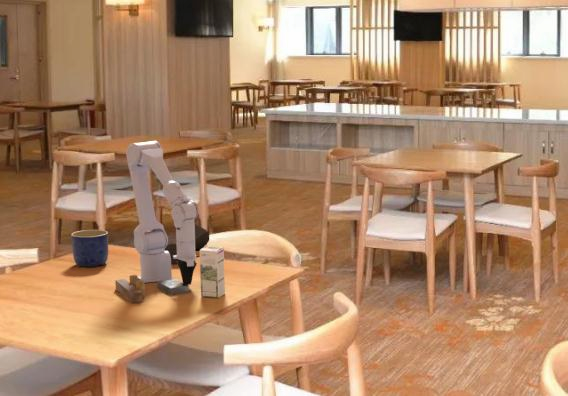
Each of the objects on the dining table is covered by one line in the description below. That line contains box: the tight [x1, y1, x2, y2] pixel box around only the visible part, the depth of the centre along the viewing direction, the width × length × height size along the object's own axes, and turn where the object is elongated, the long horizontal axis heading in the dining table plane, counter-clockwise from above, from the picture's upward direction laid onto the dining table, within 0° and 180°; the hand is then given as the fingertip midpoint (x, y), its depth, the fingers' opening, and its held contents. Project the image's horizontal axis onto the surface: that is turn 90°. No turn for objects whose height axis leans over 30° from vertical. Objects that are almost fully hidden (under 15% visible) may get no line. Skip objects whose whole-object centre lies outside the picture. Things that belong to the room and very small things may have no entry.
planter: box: [70, 229, 109, 268], centre depth 343 cm, size 12×12×11 cm
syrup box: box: [199, 245, 226, 299], centre depth 299 cm, size 6×6×14 cm
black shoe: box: [165, 224, 210, 265], centre depth 355 cm, size 11×10×28 cm
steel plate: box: [156, 278, 190, 296], centre depth 308 cm, size 6×10×2 cm, turn 30°
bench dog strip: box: [114, 274, 146, 304], centre depth 302 cm, size 5×18×5 cm, turn 25°
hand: (187, 284), depth 310 cm, fingers closed
